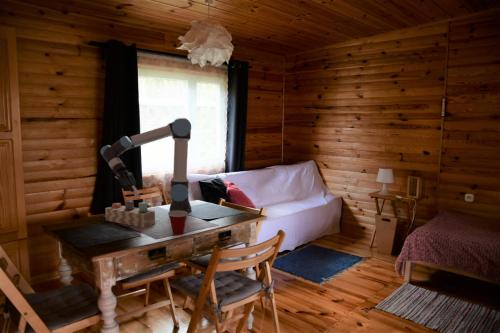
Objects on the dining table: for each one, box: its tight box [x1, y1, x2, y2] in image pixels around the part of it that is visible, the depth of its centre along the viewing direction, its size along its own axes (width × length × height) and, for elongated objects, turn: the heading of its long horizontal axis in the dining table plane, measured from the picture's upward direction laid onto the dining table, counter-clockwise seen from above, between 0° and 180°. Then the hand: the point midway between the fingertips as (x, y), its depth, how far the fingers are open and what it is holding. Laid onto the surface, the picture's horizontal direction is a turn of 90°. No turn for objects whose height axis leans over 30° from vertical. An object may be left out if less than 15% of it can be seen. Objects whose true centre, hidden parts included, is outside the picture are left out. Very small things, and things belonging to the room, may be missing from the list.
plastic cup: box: [167, 211, 189, 236], centre depth 206 cm, size 11×11×12 cm
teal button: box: [138, 201, 149, 212], centre depth 225 cm, size 5×5×5 cm
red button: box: [111, 202, 122, 209], centre depth 237 cm, size 5×5×5 cm
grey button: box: [124, 200, 135, 210], centre depth 231 cm, size 5×5×5 cm
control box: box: [105, 205, 156, 228], centre depth 232 cm, size 33×10×8 cm, turn 59°
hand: (137, 195), depth 225 cm, fingers closed
